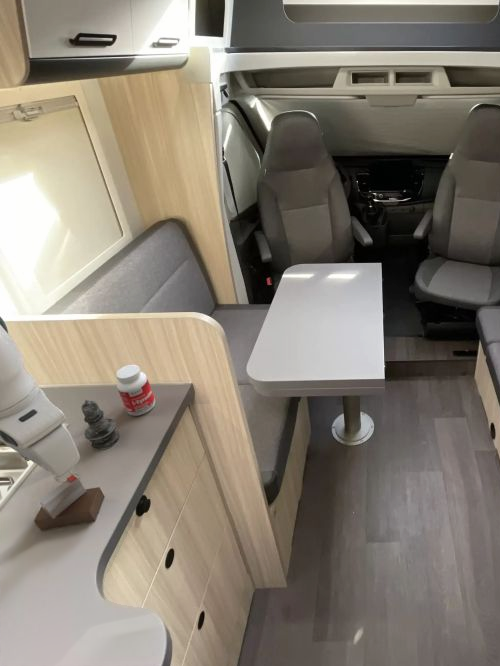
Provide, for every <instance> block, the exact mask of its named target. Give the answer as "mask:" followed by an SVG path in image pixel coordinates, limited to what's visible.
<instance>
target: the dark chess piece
mask: <svg viewBox="0 0 500 666" xmlns="http://www.w3.org/2000/svg"><path fill="white" fill-rule="evenodd" d="M81 411H82V414H83V416H84V419H83V421H84V422H85V423H87V424H88V427H87V428H86V429H85V431H84V434H83V435H84V438H85V439H86V440H88V441H89V442H91V448H92V449H93V450H95V451H103V450H107V449H109V448H112V447H113V446H114V445H115V444H116V443H118V441H119V439H120V433H119V432H118V431H116V426H117V423H116V420H114V419H113V418H105V412H104V410H102V409H100V406H99V404H98V403H97V401H95V400H88V399H85V401H84V403H82V405H81Z"/></svg>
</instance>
